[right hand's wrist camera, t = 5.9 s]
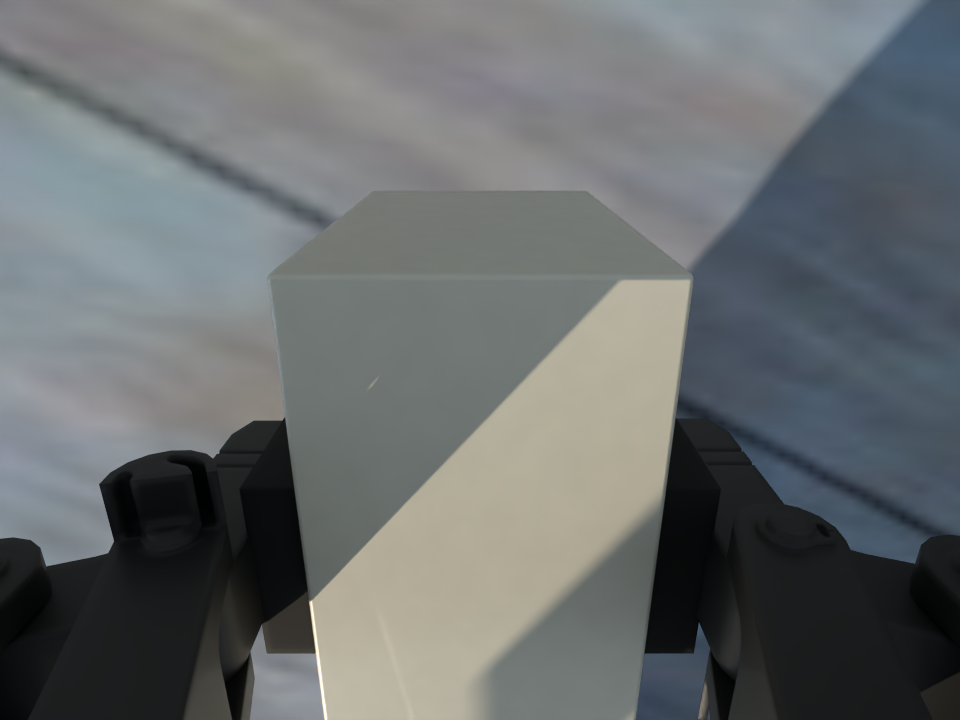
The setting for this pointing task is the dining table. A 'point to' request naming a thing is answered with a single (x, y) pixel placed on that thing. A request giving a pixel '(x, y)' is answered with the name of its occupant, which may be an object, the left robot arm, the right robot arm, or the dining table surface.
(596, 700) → the plank
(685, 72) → the dining table surface
